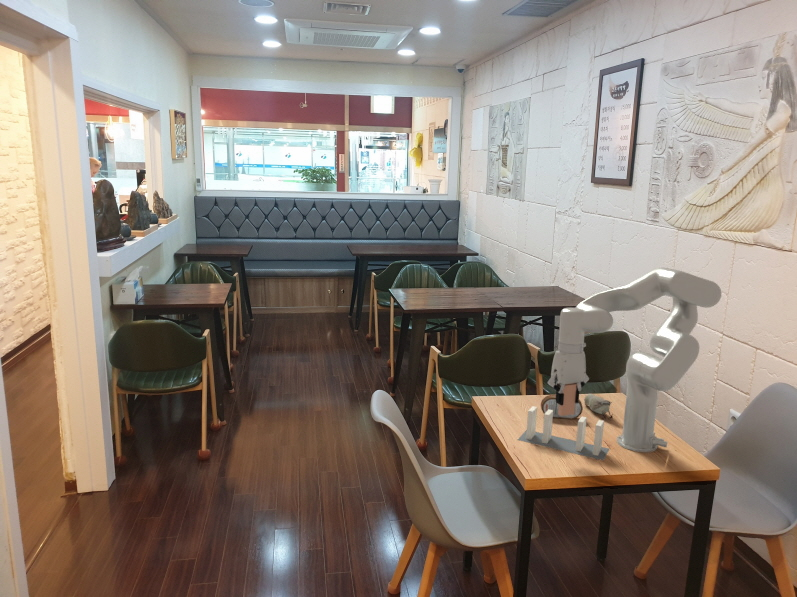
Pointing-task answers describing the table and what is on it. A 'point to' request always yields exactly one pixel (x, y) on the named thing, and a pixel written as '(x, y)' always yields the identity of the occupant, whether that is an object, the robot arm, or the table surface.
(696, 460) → the table surface
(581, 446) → the tile
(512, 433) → the table surface
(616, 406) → the table surface
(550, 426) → the tile
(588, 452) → the slate mat
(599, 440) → the tile
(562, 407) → the tile
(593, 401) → the decorative bird
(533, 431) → the tile
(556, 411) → the tin
